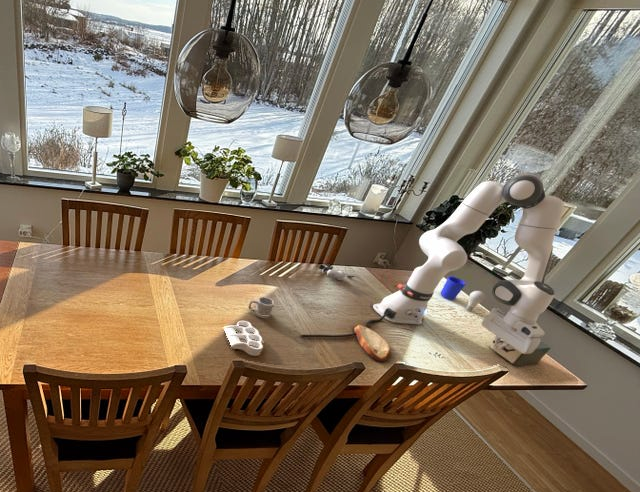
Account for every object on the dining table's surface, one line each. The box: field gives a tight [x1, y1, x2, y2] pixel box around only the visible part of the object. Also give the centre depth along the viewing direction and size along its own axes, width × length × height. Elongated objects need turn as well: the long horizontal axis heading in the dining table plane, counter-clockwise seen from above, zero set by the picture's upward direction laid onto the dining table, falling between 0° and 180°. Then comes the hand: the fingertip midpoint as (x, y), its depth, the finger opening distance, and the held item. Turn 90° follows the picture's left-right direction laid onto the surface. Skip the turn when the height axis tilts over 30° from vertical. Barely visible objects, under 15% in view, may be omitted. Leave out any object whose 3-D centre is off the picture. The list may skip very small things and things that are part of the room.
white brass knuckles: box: [222, 320, 266, 357], centre depth 155 cm, size 3×18×15 cm
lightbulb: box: [465, 290, 486, 311], centre depth 198 cm, size 6×6×11 cm
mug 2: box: [440, 275, 467, 300], centre depth 209 cm, size 8×12×10 cm
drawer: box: [489, 339, 522, 364], centre depth 168 cm, size 17×10×7 cm, turn 104°
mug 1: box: [247, 296, 275, 319], centre depth 172 cm, size 10×7×7 cm
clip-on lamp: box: [318, 263, 356, 281], centre depth 212 cm, size 12×6×18 cm
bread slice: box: [354, 324, 391, 362], centre depth 163 cm, size 18×18×4 cm
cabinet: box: [490, 340, 551, 366], centre depth 169 cm, size 14×12×9 cm
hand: (497, 347), depth 165 cm, fingers closed, pressing on drawer
